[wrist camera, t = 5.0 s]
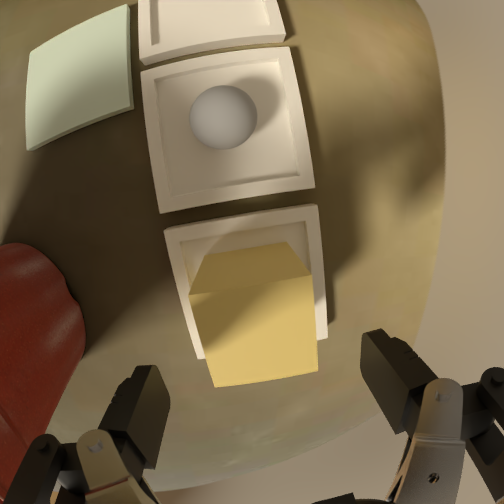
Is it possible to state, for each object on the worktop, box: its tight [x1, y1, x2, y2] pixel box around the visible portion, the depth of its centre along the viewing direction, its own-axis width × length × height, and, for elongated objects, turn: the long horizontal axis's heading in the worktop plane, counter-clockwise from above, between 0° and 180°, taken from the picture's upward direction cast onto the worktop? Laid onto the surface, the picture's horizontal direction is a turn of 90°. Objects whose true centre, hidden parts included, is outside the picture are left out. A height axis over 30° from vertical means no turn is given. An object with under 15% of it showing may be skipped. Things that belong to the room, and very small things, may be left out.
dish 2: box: [140, 47, 315, 214], centre depth 15 cm, size 9×9×1 cm
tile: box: [26, 4, 134, 151], centre depth 13 cm, size 9×9×1 cm
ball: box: [189, 85, 257, 150], centre depth 13 cm, size 4×4×4 cm
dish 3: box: [164, 203, 328, 359], centre depth 17 cm, size 9×9×1 cm
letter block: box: [188, 242, 318, 387], centre depth 14 cm, size 5×5×6 cm
